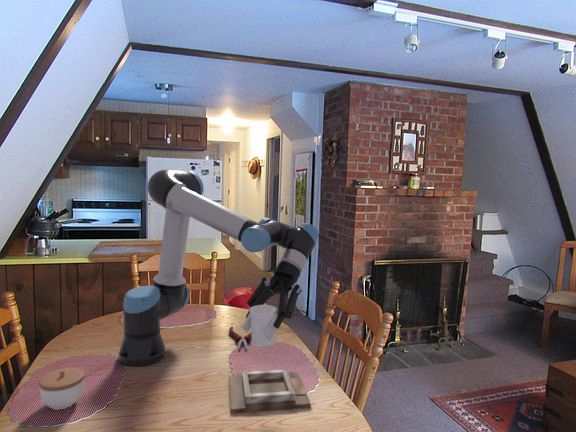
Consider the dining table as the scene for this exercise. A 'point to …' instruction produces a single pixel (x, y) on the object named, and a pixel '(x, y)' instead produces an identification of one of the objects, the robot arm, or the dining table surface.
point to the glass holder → (267, 391)
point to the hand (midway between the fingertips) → (256, 333)
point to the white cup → (261, 324)
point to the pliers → (240, 338)
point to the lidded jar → (61, 387)
